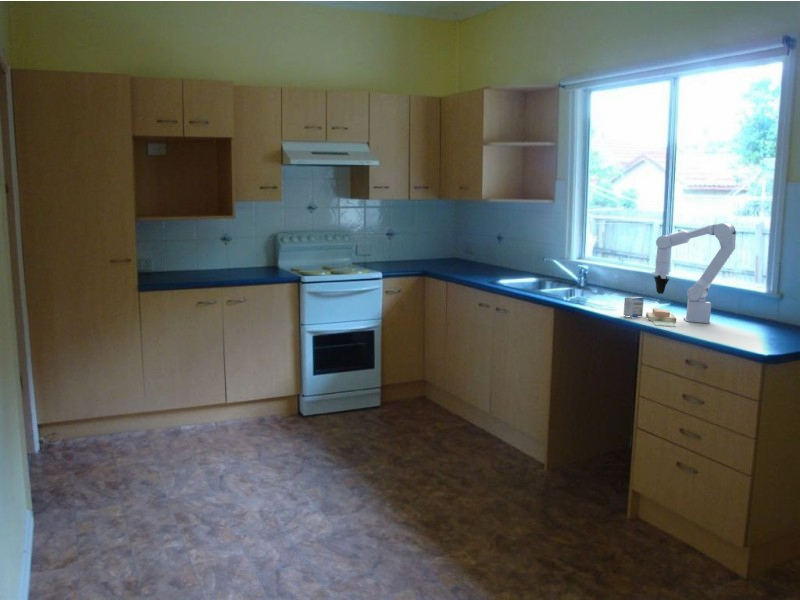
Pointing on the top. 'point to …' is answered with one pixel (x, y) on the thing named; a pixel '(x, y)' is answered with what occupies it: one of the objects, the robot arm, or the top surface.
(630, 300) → the medicine box
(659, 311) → the salmon pink flat block
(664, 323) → the mat
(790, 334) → the top surface
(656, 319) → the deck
